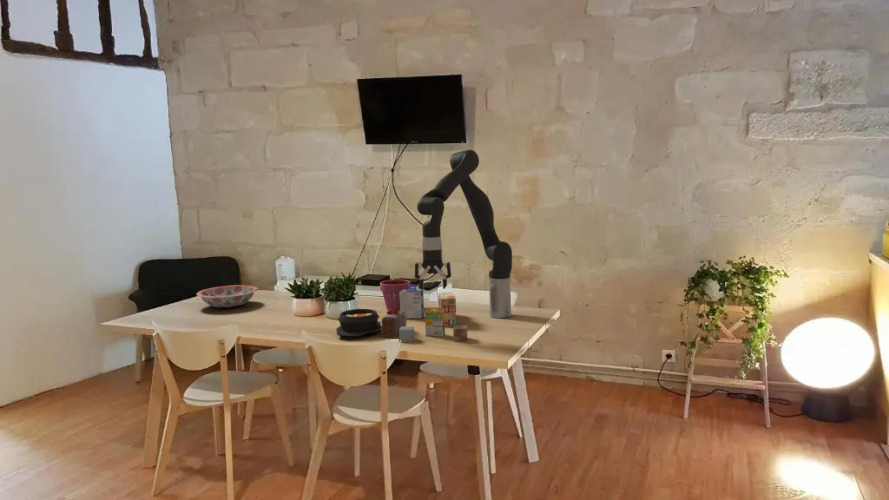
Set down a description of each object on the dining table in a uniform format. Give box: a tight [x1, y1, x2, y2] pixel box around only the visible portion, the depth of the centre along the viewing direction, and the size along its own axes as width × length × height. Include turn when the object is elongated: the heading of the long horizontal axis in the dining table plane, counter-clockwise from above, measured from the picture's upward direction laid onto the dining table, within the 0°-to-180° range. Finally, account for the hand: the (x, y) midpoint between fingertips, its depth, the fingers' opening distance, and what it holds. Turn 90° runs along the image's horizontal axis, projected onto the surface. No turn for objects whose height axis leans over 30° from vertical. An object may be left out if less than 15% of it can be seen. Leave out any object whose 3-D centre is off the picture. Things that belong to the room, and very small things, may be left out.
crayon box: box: [424, 307, 446, 337], centre depth 274 cm, size 7×3×12 cm, turn 78°
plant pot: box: [379, 279, 412, 311], centre depth 324 cm, size 14×14×13 cm
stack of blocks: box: [437, 291, 457, 327], centre depth 298 cm, size 21×6×12 cm, turn 4°
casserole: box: [335, 308, 382, 337], centre depth 283 cm, size 25×19×8 cm
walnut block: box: [453, 325, 468, 342], centre depth 267 cm, size 5×5×5 cm
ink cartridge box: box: [399, 284, 425, 319], centre depth 305 cm, size 10×6×14 cm, turn 78°
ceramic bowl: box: [196, 284, 259, 308], centre depth 342 cm, size 29×29×8 cm
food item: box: [381, 310, 407, 338], centre depth 279 cm, size 14×8×10 cm, turn 169°
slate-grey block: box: [398, 325, 415, 343], centre depth 268 cm, size 5×5×5 cm
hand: (433, 288), depth 272 cm, fingers open, 8 cm apart
